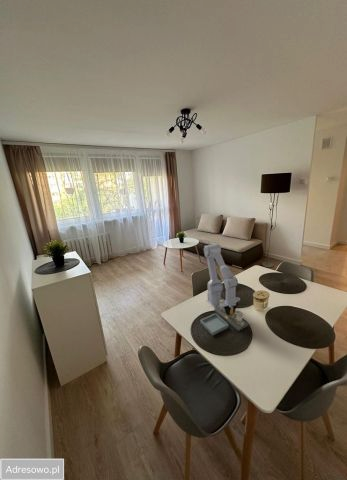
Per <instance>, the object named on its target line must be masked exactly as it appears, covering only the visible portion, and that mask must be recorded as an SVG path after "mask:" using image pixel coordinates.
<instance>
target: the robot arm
mask: <svg viewBox="0 0 347 480" xmlns="http://www.w3.org/2000/svg"><path fill="white" fill-rule="evenodd" d="M221 252H222V248H221V246H220V244H219V243H213V244H209V245H204V247H203V254H204V257H205V258H206V262H207V263H206V264H207V267H208V274H209V278H210V280H209V281H208V282H207V294H206V296H207V300H206V302H207V303H209V304H210V305H211V306H212V307H213V308H216V307H218V305H220V307H221V308H222V309H223V308H225V311H226V314H227V315H228V316H229V315H230V309H231V308H230V307H229V306H230V305H233V313H235V312H236V309H237V307H238V306H239V303H238V302H240V301H241V298H240V297H239V296H236V290H237V289H236V286H238V284H239V282H238V278H237V277H236V276H235V275H234V274H232V271H231V270H230V267H229V266H228V265H226V263H225V261H224V259H223V256H222V254H221ZM216 262H217V264H218V266H219V272H220V275H221V276H222V278H223V283H222V280H220V279H219V278H218V273H217V267H216ZM224 288H225V289H224ZM223 290H225V299H224V300H225V301H224V302H223V303H222V304H220V299H222V297H221V295H222V294H221V293H222V292H223Z"/></svg>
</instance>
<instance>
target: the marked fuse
mask: <svg viewBox="0 0 347 480" xmlns="http://www.w3.org/2000/svg"><path fill="white" fill-rule="evenodd" d="M229 307H230V308H231V309H230V315H229V316H228V315H227V316H228V317H231V316H232V315H233V305H230V306H229Z"/></svg>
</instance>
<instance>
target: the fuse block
mask: <svg viewBox="0 0 347 480" xmlns="http://www.w3.org/2000/svg"><path fill="white" fill-rule="evenodd" d="M213 308H214V309H213V311H214V312H215V313H216V314H217V315H218V316H220V317H221V318H222V319H223V320H224V321H225V322H226V323H228V324H230V326H232V327H233V328H234V329H235V330H237V332H239V331H241V330H243V329H245V328H247V327H249V323H248V322H247V321H245V320H244V318H242V323H241V325H238V324H237V323H236V313H235V312H234V313H233V315H232V316H231V317H228V316H227V314H226V311H225V309H223V311H221V310H220V305H218V306H217V307H213Z"/></svg>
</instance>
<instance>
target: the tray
mask: <svg viewBox="0 0 347 480" xmlns="http://www.w3.org/2000/svg"><path fill="white" fill-rule="evenodd" d="M199 322H200V325H201V326H202V327H203V328H205V330H206V331H207V332H208V333H209V334H210V335H211V336H212V337H213V336H215V335H217V334H219V333H221V332H223V331H225V330H227V329H229V324H230V323H228V322H227V321H226V320H225V319H224V318H223V317H221V316H220V315H219V314H218V313H217V312H215V313H212V314H211V315H210V314H209V316H206V317H204V318H202V319H200V320H199Z"/></svg>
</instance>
